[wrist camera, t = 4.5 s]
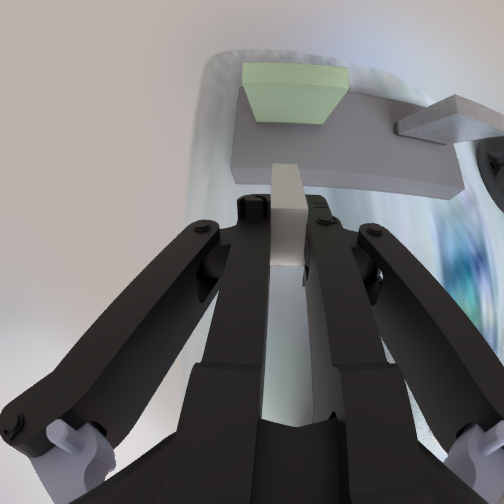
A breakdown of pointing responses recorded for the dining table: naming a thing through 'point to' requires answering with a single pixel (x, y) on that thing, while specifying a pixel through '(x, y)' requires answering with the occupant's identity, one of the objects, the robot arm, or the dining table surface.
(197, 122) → the dining table surface
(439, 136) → the light grey rectangular slab
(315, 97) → the pale green flat slab
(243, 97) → the panel
